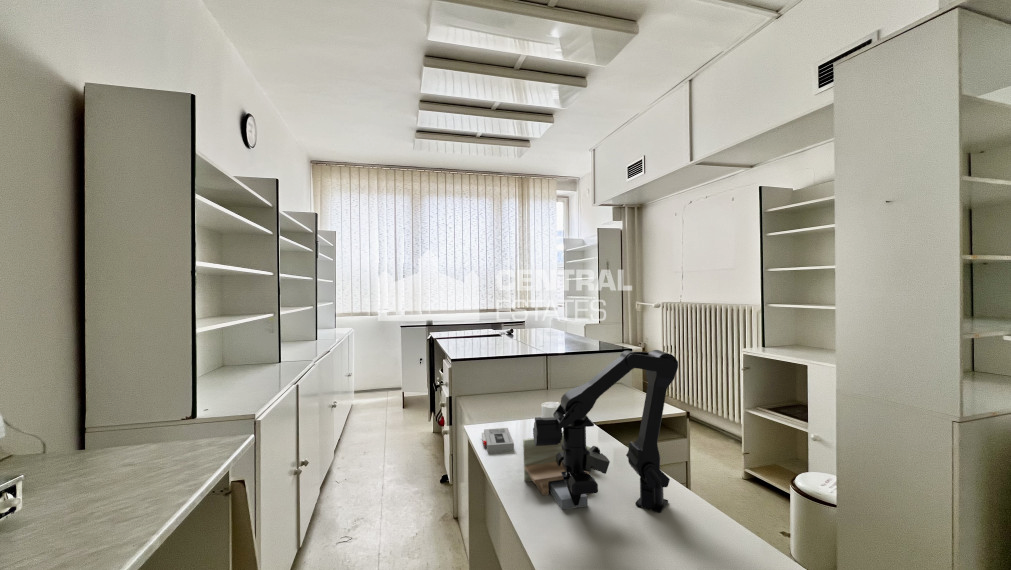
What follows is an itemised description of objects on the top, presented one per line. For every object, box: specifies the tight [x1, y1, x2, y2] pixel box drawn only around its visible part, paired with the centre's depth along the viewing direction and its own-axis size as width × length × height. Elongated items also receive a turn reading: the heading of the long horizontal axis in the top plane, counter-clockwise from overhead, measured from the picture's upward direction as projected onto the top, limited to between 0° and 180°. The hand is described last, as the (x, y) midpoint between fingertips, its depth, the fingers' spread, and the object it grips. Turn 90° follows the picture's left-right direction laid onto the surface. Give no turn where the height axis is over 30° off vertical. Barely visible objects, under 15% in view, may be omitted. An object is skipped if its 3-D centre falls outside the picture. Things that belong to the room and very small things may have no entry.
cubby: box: [522, 434, 590, 496], centre depth 121 cm, size 10×16×12 cm, turn 104°
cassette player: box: [481, 427, 515, 454], centre depth 153 cm, size 16×3×10 cm
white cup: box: [541, 401, 561, 418], centre depth 165 cm, size 8×8×10 cm
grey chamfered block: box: [548, 479, 588, 511], centre depth 116 cm, size 16×7×2 cm, turn 12°
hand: (576, 504), depth 107 cm, fingers closed
